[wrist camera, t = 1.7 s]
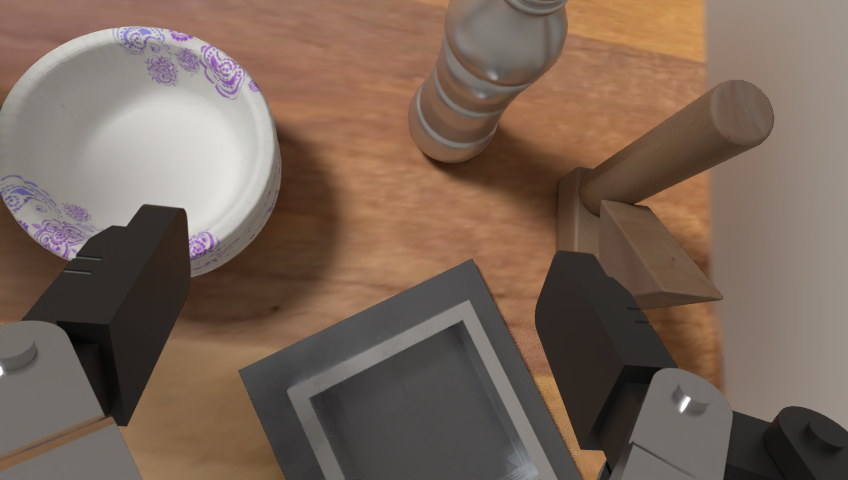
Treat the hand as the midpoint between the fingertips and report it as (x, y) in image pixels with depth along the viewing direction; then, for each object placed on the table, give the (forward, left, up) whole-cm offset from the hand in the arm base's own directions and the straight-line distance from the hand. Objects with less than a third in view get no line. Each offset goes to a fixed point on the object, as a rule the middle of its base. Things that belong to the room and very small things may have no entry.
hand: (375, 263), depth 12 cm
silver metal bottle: (-10, +14, -28) cm, 32 cm away
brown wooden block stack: (+3, +19, -28) cm, 34 cm away
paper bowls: (-14, -6, -28) cm, 32 cm away
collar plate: (+9, +2, -27) cm, 29 cm away
